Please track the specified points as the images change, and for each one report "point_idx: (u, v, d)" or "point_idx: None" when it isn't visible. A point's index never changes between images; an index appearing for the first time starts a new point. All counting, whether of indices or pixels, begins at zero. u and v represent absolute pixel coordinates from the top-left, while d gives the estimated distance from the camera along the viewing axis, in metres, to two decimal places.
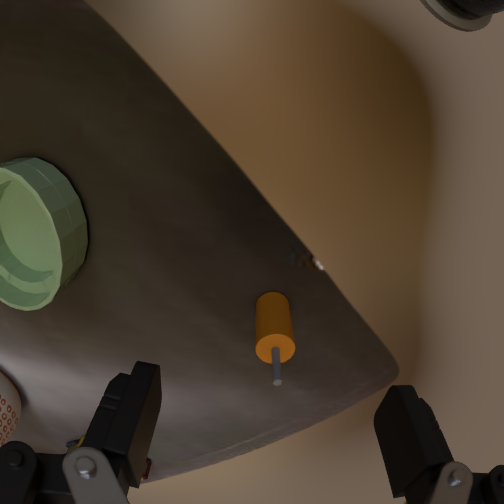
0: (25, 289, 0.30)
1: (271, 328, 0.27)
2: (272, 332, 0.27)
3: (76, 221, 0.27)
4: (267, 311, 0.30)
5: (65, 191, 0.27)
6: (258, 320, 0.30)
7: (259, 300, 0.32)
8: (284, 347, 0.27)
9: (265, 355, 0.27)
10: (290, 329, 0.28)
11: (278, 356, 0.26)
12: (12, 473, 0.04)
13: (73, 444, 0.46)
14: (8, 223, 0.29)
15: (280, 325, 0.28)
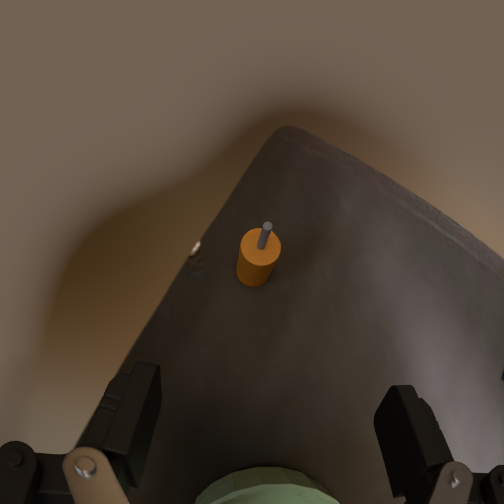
0: None
1: (243, 259, 0.28)
2: (243, 256, 0.27)
3: (227, 480, 0.24)
4: (243, 272, 0.30)
5: (202, 496, 0.23)
6: (253, 276, 0.30)
7: (248, 284, 0.33)
8: (255, 239, 0.27)
9: (272, 253, 0.27)
10: None
11: (258, 240, 0.26)
12: (12, 473, 0.04)
13: None
14: None
15: (239, 253, 0.28)
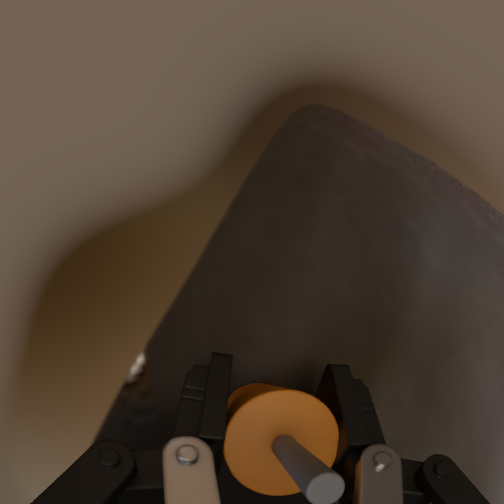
0: None
1: None
2: (232, 473, 0.08)
3: None
4: None
5: None
6: None
7: None
8: (265, 426, 0.08)
9: None
10: (229, 413, 0.10)
11: (278, 454, 0.07)
12: (101, 471, 0.05)
13: None
14: None
15: None
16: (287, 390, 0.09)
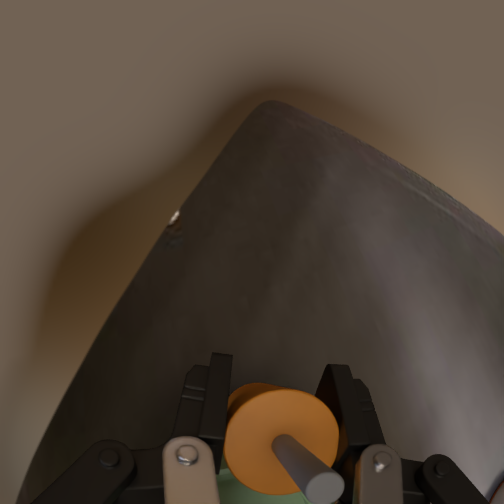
0: None
1: None
2: (232, 473, 0.08)
3: None
4: None
5: None
6: None
7: None
8: (265, 426, 0.08)
9: None
10: (229, 412, 0.10)
11: (278, 454, 0.07)
12: (101, 471, 0.05)
13: None
14: None
15: None
16: (287, 390, 0.09)
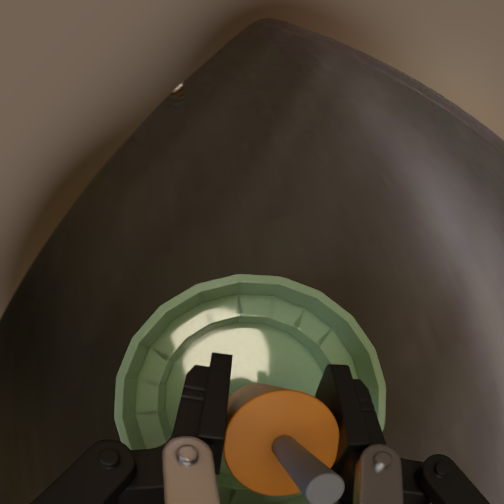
0: None
1: None
2: (232, 473, 0.08)
3: None
4: None
5: None
6: None
7: None
8: (265, 427, 0.08)
9: None
10: (229, 413, 0.10)
11: (278, 455, 0.07)
12: (101, 471, 0.05)
13: None
14: None
15: None
16: (287, 390, 0.09)
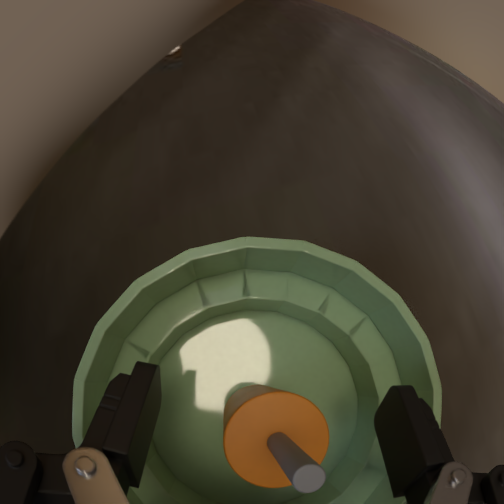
0: (394, 382, 0.14)
1: None
2: (231, 467, 0.09)
3: None
4: None
5: None
6: None
7: None
8: (261, 425, 0.09)
9: None
10: (229, 412, 0.10)
11: (272, 450, 0.08)
12: (12, 473, 0.04)
13: None
14: None
15: None
16: (281, 392, 0.09)
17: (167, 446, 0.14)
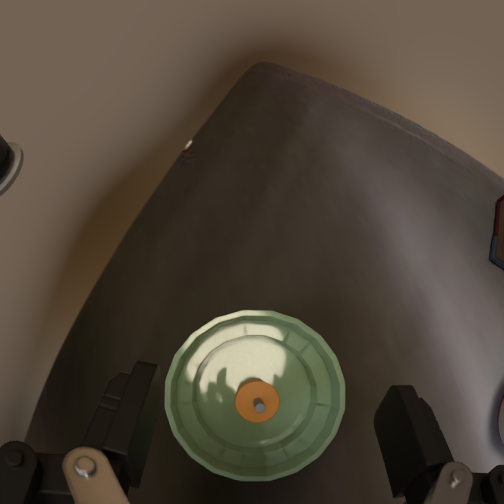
0: (326, 377, 0.28)
1: None
2: (239, 413, 0.23)
3: None
4: None
5: None
6: None
7: None
8: (250, 394, 0.23)
9: (269, 408, 0.23)
10: None
11: (253, 403, 0.22)
12: (12, 473, 0.04)
13: None
14: (267, 430, 0.28)
15: None
16: (258, 381, 0.24)
17: (206, 413, 0.29)
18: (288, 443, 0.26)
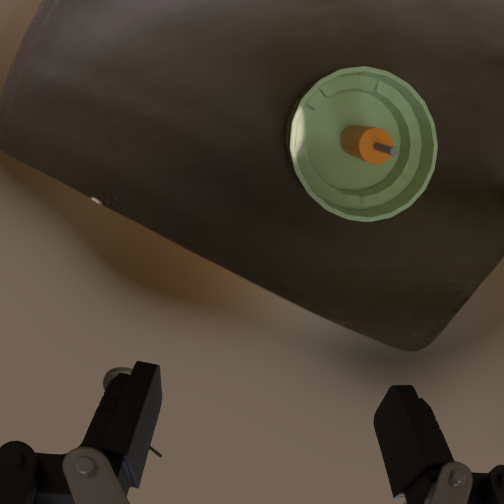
0: (352, 78, 0.28)
1: None
2: (383, 162, 0.27)
3: None
4: None
5: None
6: None
7: None
8: (370, 151, 0.26)
9: (383, 137, 0.26)
10: (361, 159, 0.28)
11: (380, 151, 0.25)
12: (12, 473, 0.04)
13: None
14: None
15: None
16: (359, 143, 0.26)
17: (367, 182, 0.34)
18: (404, 120, 0.29)
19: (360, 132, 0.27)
